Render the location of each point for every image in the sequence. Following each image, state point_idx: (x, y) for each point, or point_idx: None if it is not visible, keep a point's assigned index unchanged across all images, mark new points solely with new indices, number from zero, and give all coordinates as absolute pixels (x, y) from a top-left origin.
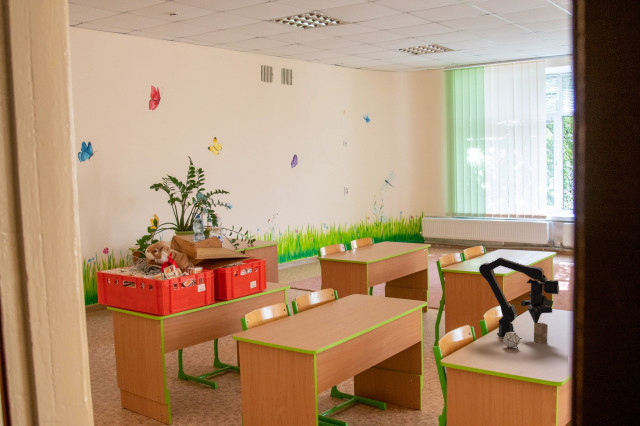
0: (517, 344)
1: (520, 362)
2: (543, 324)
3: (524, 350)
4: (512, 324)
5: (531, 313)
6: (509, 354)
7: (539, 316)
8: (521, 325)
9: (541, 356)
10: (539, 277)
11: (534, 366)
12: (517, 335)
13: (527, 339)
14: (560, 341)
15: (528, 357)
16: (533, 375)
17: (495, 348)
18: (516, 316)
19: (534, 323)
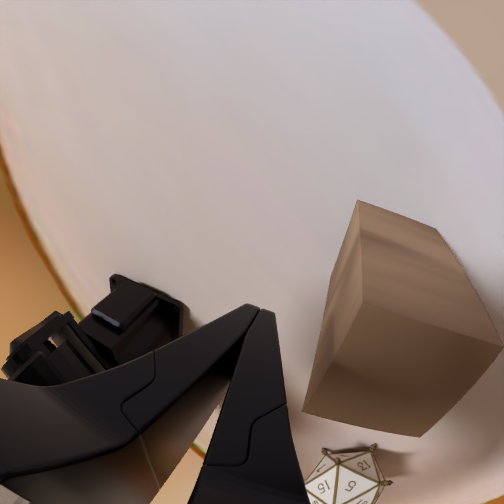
0: (375, 463)
1: (454, 489)
2: (448, 384)
3: (415, 442)
4: (114, 350)
5: (158, 489)
6: (395, 483)
7: (285, 437)
8: (22, 64)
9: (498, 436)
10: None
11: (494, 479)
12: (361, 496)
13: (274, 284)
14: (460, 75)
15: (460, 465)
16: (500, 492)
17: None
18: (55, 360)
19: (310, 409)
